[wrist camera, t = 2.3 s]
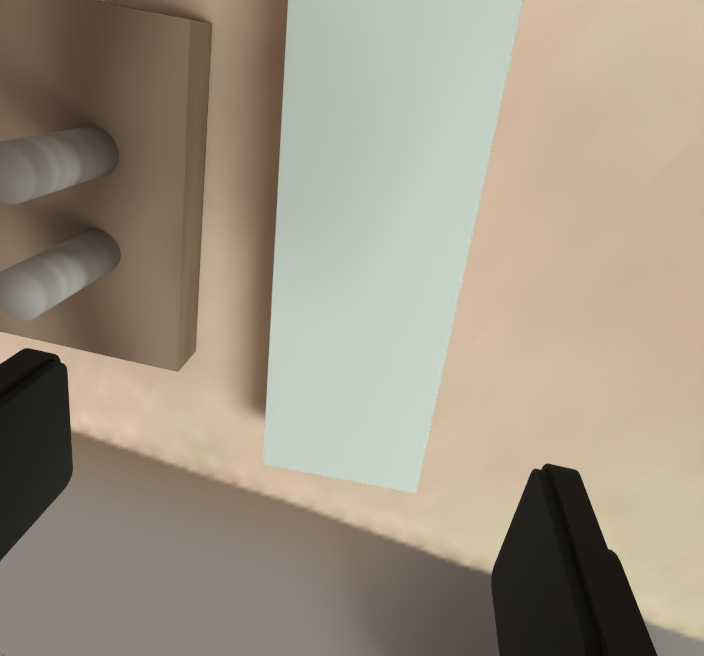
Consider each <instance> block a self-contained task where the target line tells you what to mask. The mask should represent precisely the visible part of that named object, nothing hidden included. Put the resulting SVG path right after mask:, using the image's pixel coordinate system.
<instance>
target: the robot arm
mask: <svg viewBox="0 0 704 656" xmlns="http://www.w3.org/2000/svg"><path fill="white" fill-rule="evenodd" d="M72 472H73V464H72V446H71V428H70V410H69V392H68V375H67V367H66V366H65V364H63V363H61V361H60V359H59V357H58V356H57V355H56V354H52V353H48V352H43V351H39V350H34V349H30V348H25V349H23V350H21V351H19V352H18V353H16V354H15V355H13V356H12V357H10V358H9V359H7V360H6V361H4V362H3V363H1V364H0V561H1V559H2V558H3V557H4V556H5V555H6V554H7V553H8V552H9V550H10V549H11V548H12V547H13V546H14V545H15V544H16V543H17V541H18V540H19V539H20V538H21V537H22V536H23V535H24V534H25V532H26V531H27V530H28V529H29V528H30V527H31V526H32V525H33V524H34V522H35V521H36V520H37V519H38V518H39V517H40V516H41V515H42V513H43V512H44V511H45V510H46V509H47V508H48V507H49V505H50V504H51V503H52V502H53V501H54V500H55V499H56V498H57V497H58V495H59V494H60V493H61V492H62V491H63V490H64V489H65V487H66V486H67V485H68V482H69V481H70V478H71V476H72ZM491 583H492V584H491V586H492V595H493V603H494V612H495V620H496V629H497V637H498V646H499V654H500V656H657V654H656V651H655V648H654V646H653V643H652V641H651V639H650V636H649V633H648V631H647V628H646V626H645V623H644V620H643V618H642V615H641V613H640V610H639V608H638V605H637V603H636V600H635V597H634V595H633V592H632V590H631V587H630V585H629V582H628V580H627V577H626V575H625V572H624V569H623V567H622V564H621V562H620V560H619V558H618V556H617V554H616V553H614V552H613V551H612V550H609V549H608V548H607V545H606V543H605V540H604V537H603V535H602V532H601V529H600V527H599V524H598V521H597V519H596V516H595V513H594V511H593V508H592V505H591V503H590V500H589V497H588V495H587V492H586V489H585V487H584V484H583V481H582V479H581V476H580V474H579V472H578V471H577V470H574V469H570V468H565V467H561V466H556V465H552V464H545V465H544V466H543V467H542V469H541V470H539V469H534V470H533V471H532V472H531V474H530V477H529V479H528V482H527V484H526V487H525V489H524V492H523V494H522V497H521V499H520V502H519V504H518V507H517V509H516V512H515V514H514V517H513V519H512V522H511V524H510V527H509V529H508V532H507V534H506V537H505V539H504V542H503V545H502V547H501V550H500V552H499V555H498V557H497V560H496V562H495V565H494V568H493V572H492V581H491ZM0 656H9V655H5V654H0Z"/></svg>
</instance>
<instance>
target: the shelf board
mask: <svg viewBox="0 0 704 656" xmlns="http://www.w3.org/2000/svg"><path fill="white" fill-rule="evenodd" d="M522 4H523V0H288V11H287V29H286V48H285V66H284V84H283V103H282V121H281V140H280V158H279V176H278V195H277V213H276V232H275V250H274V268H273V287H272V305H271V324H270V342H269V360H268V379H267V397H266V416H265V434H264V453H263V464H265V465H270V466H275V467H281V468H286V469H291V470H297V471H302V472H307V473H312V474H318V475H323V476H328V477H333V478H339V479H344V480H349V481H355V482H360V483H365V484H370V485H376V486H381V487H386V488H391V489H397V490H402V491H407V492H413V493H416V492H417V487H418V483H419V478H420V473H421V469H422V464H423V460H424V455H425V450H426V446H427V441H428V437H429V432H430V427H431V423H432V418H433V414H434V409H435V404H436V400H437V395H438V391H439V386H440V381H441V377H442V372H443V368H444V363H445V358H446V354H447V349H448V345H449V340H450V335H451V331H452V326H453V322H454V317H455V312H456V308H457V303H458V299H459V294H460V289H461V285H462V280H463V276H464V271H465V266H466V262H467V257H468V253H469V248H470V243H471V239H472V234H473V230H474V225H475V220H476V216H477V211H478V207H479V202H480V197H481V193H482V188H483V184H484V179H485V174H486V170H487V165H488V161H489V156H490V151H491V147H492V142H493V138H494V133H495V128H496V124H497V119H498V115H499V110H500V105H501V101H502V96H503V92H504V87H505V82H506V78H507V73H508V69H509V64H510V59H511V55H512V50H513V46H514V41H515V36H516V32H517V27H518V23H519V18H520V13H521V9H522Z"/></svg>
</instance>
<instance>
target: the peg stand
mask: <svg viewBox="0 0 704 656" xmlns="http://www.w3.org/2000/svg"><path fill="white" fill-rule="evenodd" d="M211 32H212V24H211V23H206V22H201V21H196V20H190V19H185V18H180V17H175V16H170V15H164V14H159V13H154V12H149V11H143V10H138V9H133V8H128V7H123V6H117V5H112V4H107V3H102V2H97V1H91V0H0V332H5V333H9V334H14V335H18V336H22V337H27V338H31V339H36V340H40V341H44V342H49V343H53V344H58V345H62V346H66V347H71V348H75V349H80V350H84V351H88V352H93V353H97V354H102V355H106V356H110V357H115V358H119V359H124V360H128V361H132V362H137V363H141V364H146V365H150V366H155V367H159V368H163V369H168V370H172V371H177V372H178V371H179V370H180V369H181V368H182V367H183V365H184V364H185V363H186V362H187V361H188V359H189V358H190V357H191V356H192V355H193V354H194V352H195V351H196V332H197V312H198V292H199V272H200V252H201V232H202V212H203V192H204V172H205V152H206V132H207V112H208V92H209V72H210V52H211Z"/></svg>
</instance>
